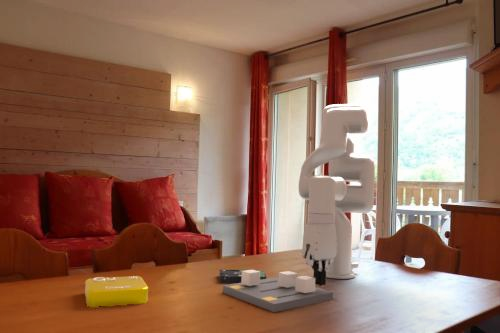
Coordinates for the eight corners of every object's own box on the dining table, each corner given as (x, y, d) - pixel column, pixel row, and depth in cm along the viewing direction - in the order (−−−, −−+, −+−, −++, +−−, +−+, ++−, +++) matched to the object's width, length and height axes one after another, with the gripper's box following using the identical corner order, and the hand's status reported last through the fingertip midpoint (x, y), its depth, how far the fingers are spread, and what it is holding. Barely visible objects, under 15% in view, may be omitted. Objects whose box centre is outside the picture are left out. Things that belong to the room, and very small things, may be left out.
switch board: (279, 283, 140) (279, 276, 140) (332, 299, 123) (333, 291, 123) (222, 292, 127) (222, 285, 127) (273, 312, 109) (274, 303, 110)
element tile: (86, 309, 108) (87, 290, 108) (84, 294, 122) (85, 276, 122) (149, 304, 114) (149, 286, 114) (140, 290, 128) (140, 273, 128)
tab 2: (288, 283, 130) (288, 271, 130) (297, 285, 127) (297, 273, 127) (278, 285, 128) (278, 272, 128) (286, 287, 125) (287, 274, 125)
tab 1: (252, 281, 131) (252, 269, 131) (259, 284, 128) (260, 271, 128) (241, 283, 128) (241, 270, 128) (249, 286, 125) (249, 273, 125)
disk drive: (219, 285, 138) (266, 285, 139) (219, 276, 138) (267, 276, 139) (219, 277, 148) (263, 277, 149) (219, 269, 148) (263, 269, 149)
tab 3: (305, 288, 125) (305, 275, 125) (314, 291, 122) (315, 278, 122) (295, 290, 122) (295, 277, 122) (304, 293, 119) (305, 279, 119)
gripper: (328, 217, 134) (327, 278, 133) (293, 219, 124) (291, 284, 124) (348, 219, 128) (346, 283, 127) (312, 221, 118) (310, 290, 118)
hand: (319, 284), depth 125 cm, fingers closed
